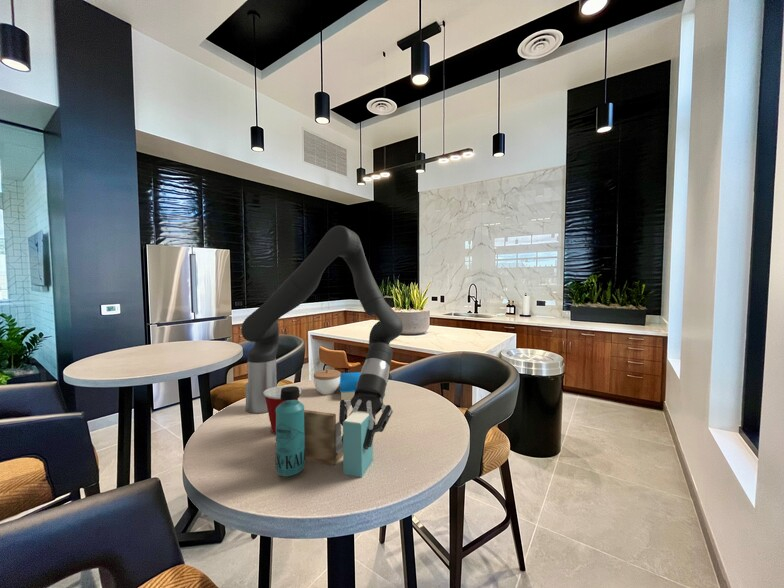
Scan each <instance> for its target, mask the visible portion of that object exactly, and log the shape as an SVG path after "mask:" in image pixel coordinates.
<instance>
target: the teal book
mask: <svg viewBox="0 0 784 588" xmlns="http://www.w3.org/2000/svg"><path fill="white" fill-rule="evenodd" d="M349 415H350V414H349ZM369 417H370V415H369V414H368V413H367V412H364V411H357V412H353V413H352V414H351V415H350V416H347V419H346V420H345V421H344V422H343V426H342V435H343V456H342V457H343V460H342V461H343V464H342V465H343V467H342V469H343V475H346V476H347V475H348V476H351V477H358V478H363V476H364V475H365V474H366V472H367V471H368V469H369V467H370V466H371V465H372V463H373V462H374V447H373V446H374V442H373V441H374V440H373V441H372V445H371V447H369V448H368V450H366V449H364V447H363V444H364V440H365V436H366V432H367V430H368V429H369V428H368V424H369Z"/></svg>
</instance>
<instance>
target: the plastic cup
mask: <svg viewBox="0 0 784 588" xmlns="http://www.w3.org/2000/svg"><path fill="white" fill-rule="evenodd" d="M285 387H289V386H284V385H283V386H282V385H281V386H277V387H273V388H269V389H267V390H265V391H264V392H263V394H264V396H265V400H266V404H267V408H268V412H267V413H268V419H269V422H270V426H271V432H272V433H273V434H274V435H276V408H277V406H278V405H279V404H280V403H282V402H284V401H287V400H282V399H281V398H280V396H281V389H282V388H285ZM301 393H302V390H301V389H300V388H299V394H300V395H301ZM294 400H298V401H299V398H297V399H294Z"/></svg>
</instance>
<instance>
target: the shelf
mask: <svg viewBox="0 0 784 588" xmlns="http://www.w3.org/2000/svg"><path fill="white" fill-rule="evenodd" d="M304 433H305V461H308V462H314V463H319V464H325V465H330V466H335V465H336V464H337V463H338V461H339V460H340V459H341V458H342V457H343V442H342V425H341V424H340V422H339V421H337V414H336V413H333V412H332V413H331V412H323V411H316V410H307V409H304Z"/></svg>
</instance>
